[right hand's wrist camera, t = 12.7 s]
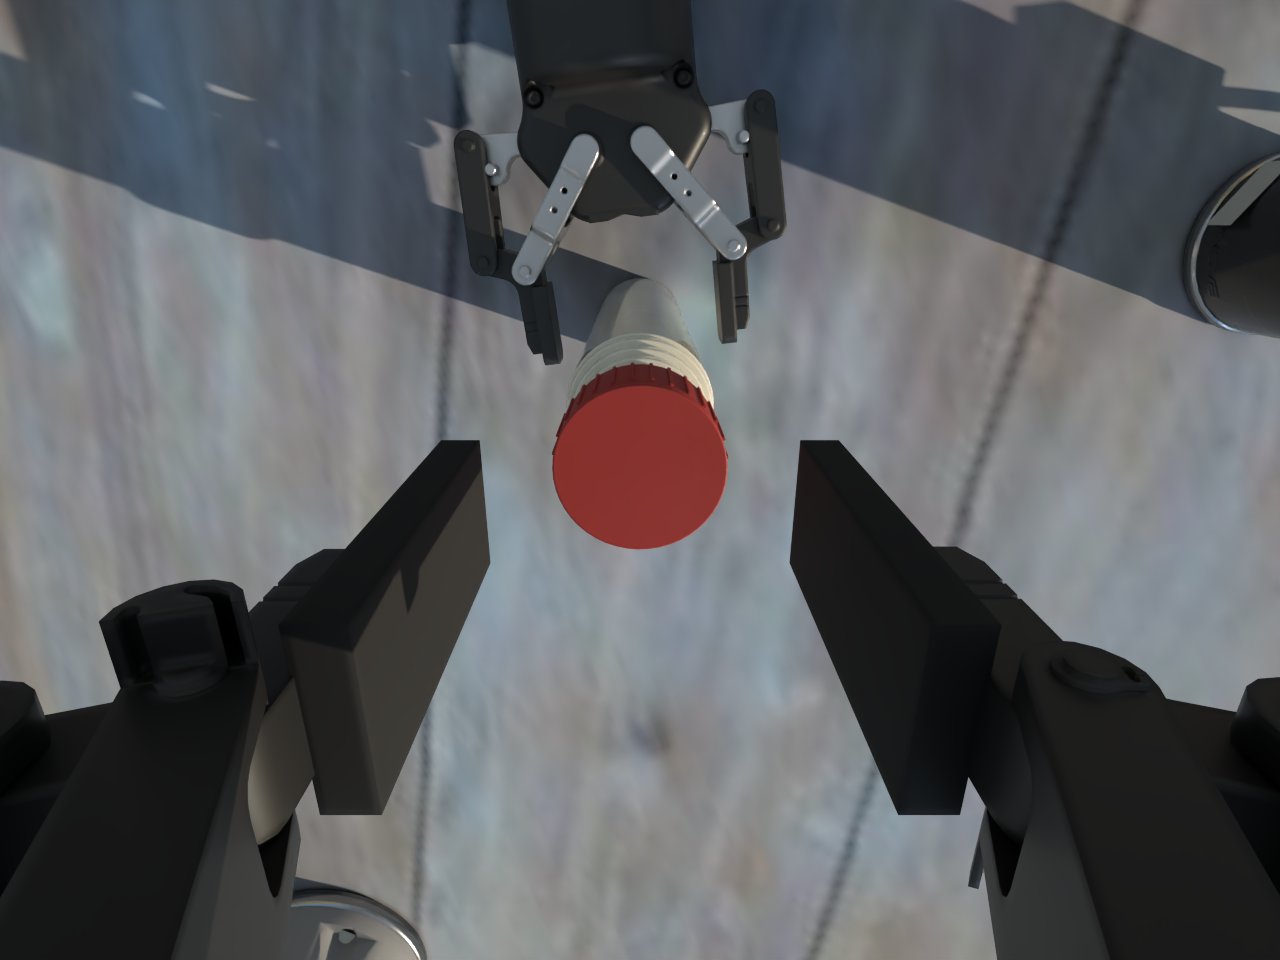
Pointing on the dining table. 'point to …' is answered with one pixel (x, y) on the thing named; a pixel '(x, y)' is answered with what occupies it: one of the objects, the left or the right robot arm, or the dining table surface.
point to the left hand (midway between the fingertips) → (640, 351)
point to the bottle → (639, 336)
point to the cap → (639, 457)
